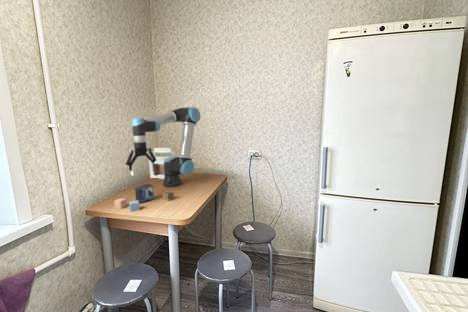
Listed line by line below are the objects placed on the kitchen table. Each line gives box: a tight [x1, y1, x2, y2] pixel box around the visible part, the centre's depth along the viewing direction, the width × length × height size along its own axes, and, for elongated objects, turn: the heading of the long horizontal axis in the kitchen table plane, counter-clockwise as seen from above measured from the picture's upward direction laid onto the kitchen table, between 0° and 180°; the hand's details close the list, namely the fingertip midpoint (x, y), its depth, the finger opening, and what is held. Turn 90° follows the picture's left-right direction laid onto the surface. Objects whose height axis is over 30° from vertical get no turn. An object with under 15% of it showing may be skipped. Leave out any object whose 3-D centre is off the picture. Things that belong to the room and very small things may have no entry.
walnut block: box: [162, 191, 175, 202], centre depth 170 cm, size 5×5×5 cm
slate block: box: [128, 199, 140, 212], centre depth 153 cm, size 5×5×5 cm
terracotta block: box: [113, 198, 128, 210], centre depth 157 cm, size 5×5×5 cm
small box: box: [134, 183, 155, 205], centre depth 167 cm, size 11×6×10 cm, turn 139°
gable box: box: [148, 147, 177, 180], centre depth 229 cm, size 22×13×28 cm, turn 81°
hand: (142, 173), depth 165 cm, fingers open, 13 cm apart
